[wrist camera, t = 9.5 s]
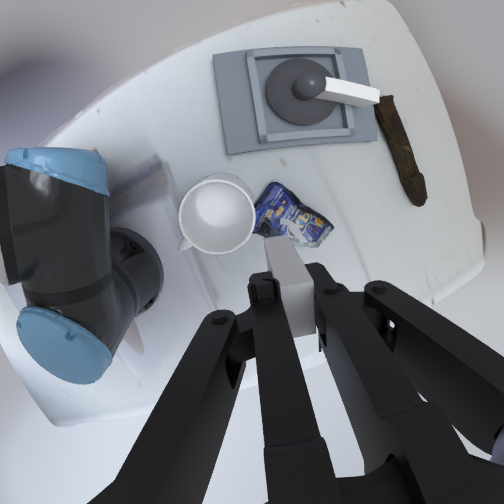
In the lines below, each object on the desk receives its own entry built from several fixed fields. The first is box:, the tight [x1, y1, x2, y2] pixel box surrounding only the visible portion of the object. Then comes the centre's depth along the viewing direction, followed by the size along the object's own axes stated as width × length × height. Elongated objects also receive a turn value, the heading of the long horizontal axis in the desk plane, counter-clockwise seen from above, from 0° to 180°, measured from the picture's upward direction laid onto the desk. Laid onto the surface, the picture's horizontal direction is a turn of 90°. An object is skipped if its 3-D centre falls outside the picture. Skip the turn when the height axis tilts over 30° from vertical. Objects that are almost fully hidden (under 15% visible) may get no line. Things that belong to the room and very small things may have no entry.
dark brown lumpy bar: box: [373, 95, 428, 207], centre depth 37 cm, size 19×4×5 cm, turn 24°
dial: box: [265, 58, 380, 126], centre depth 30 cm, size 13×10×7 cm
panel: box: [213, 46, 378, 155], centre depth 33 cm, size 22×15×4 cm
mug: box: [178, 173, 256, 254], centre depth 36 cm, size 9×12×11 cm
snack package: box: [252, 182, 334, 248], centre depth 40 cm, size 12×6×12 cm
